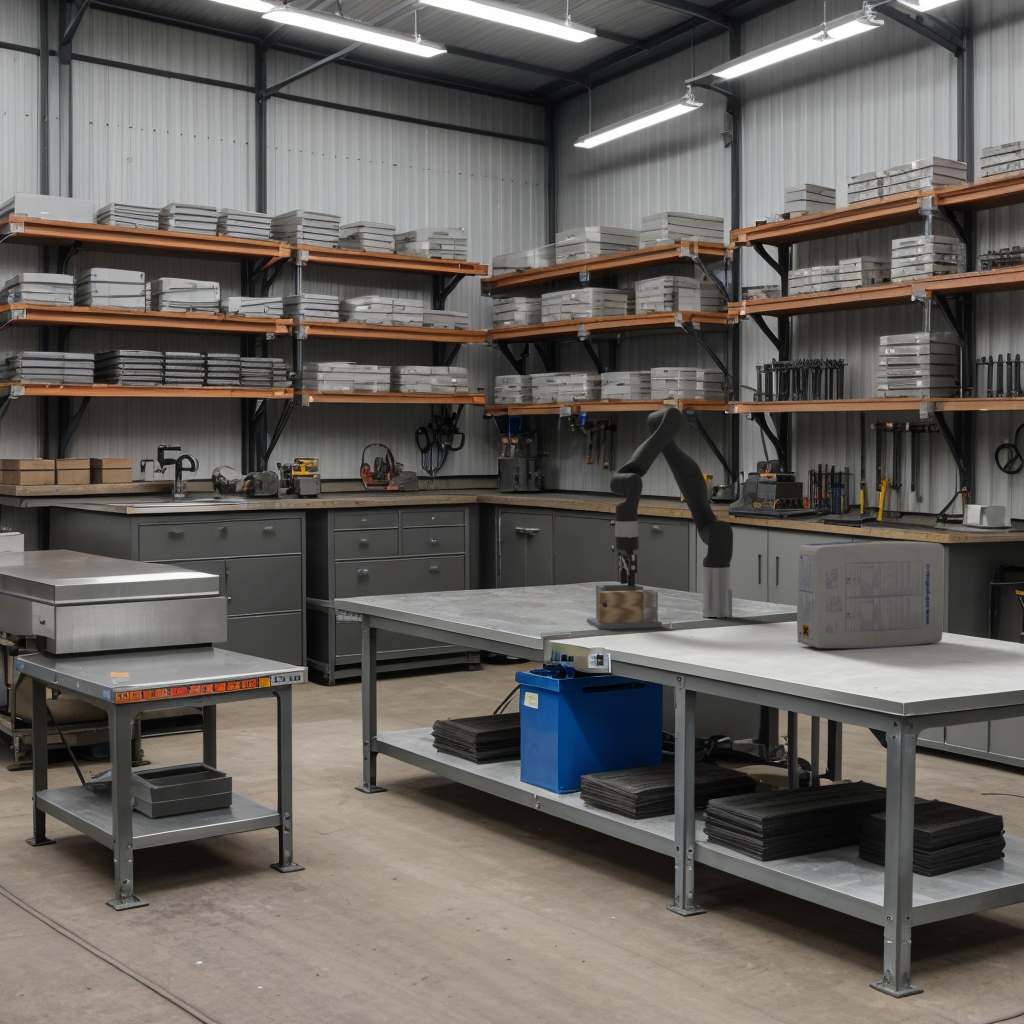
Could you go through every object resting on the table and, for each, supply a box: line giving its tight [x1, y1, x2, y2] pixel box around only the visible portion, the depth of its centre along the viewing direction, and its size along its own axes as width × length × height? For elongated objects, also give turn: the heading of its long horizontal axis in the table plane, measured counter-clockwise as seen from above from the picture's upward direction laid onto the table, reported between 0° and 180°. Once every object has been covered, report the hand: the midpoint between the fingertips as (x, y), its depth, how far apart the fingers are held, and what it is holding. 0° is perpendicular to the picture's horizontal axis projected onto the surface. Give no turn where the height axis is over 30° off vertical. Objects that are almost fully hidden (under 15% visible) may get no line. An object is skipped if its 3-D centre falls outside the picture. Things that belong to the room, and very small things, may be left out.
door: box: [597, 589, 659, 624], centre depth 393 cm, size 19×5×10 cm, turn 101°
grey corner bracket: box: [586, 583, 663, 630], centre depth 397 cm, size 21×15×12 cm
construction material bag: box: [796, 540, 945, 649], centre depth 351 cm, size 43×12×30 cm, turn 108°
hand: (627, 585), depth 393 cm, fingers open, 8 cm apart
